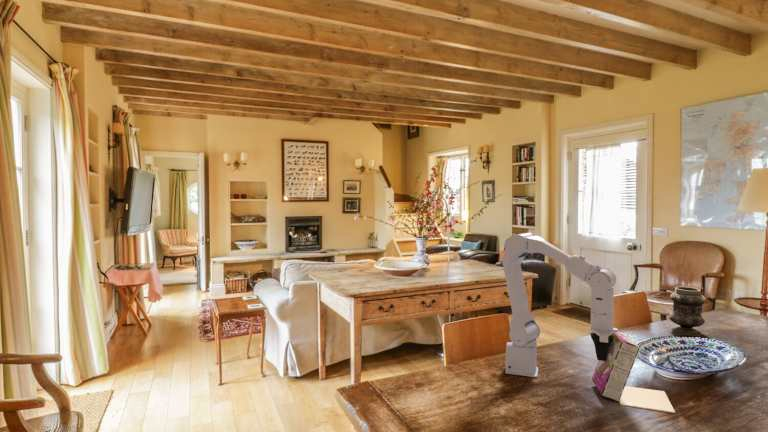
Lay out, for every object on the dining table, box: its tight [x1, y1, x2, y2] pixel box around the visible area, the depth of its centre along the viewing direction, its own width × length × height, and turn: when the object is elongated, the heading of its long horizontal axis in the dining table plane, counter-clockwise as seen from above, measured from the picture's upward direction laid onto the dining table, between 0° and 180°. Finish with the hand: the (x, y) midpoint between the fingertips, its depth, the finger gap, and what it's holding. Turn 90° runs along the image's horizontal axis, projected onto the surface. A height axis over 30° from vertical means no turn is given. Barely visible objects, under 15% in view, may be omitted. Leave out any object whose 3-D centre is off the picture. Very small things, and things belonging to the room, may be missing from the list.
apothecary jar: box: [668, 285, 706, 337], centre depth 180 cm, size 12×12×18 cm
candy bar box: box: [591, 330, 641, 403], centre depth 125 cm, size 11×5×16 cm, turn 168°
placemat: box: [619, 385, 676, 414], centre depth 122 cm, size 12×13×1 cm
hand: (601, 359), depth 125 cm, fingers closed
